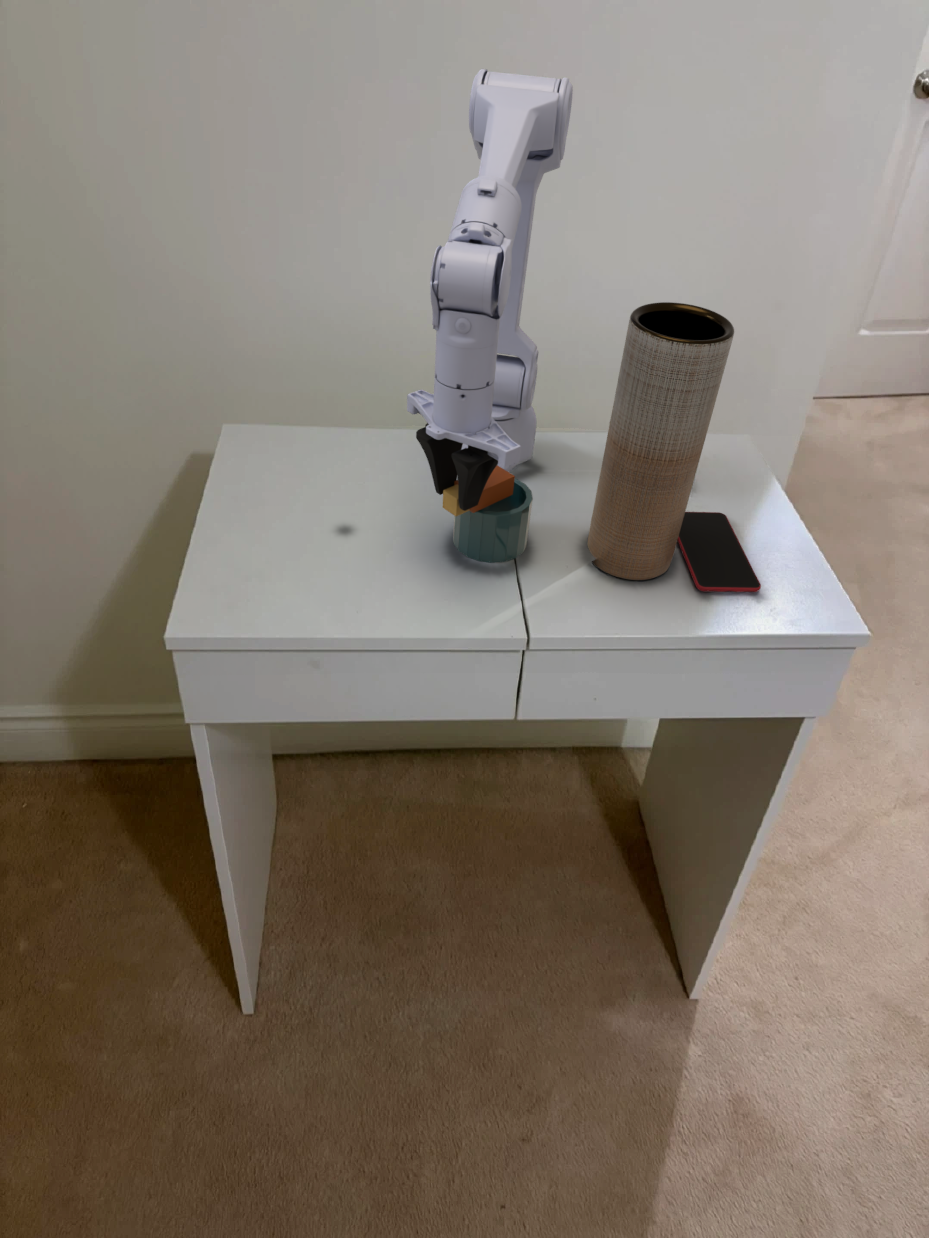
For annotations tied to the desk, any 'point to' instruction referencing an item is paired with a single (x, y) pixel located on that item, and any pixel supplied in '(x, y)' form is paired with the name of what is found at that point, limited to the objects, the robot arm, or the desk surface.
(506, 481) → the tan orange collared block
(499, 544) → the cup
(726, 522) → the smartphone
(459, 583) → the desk surface
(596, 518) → the vase
